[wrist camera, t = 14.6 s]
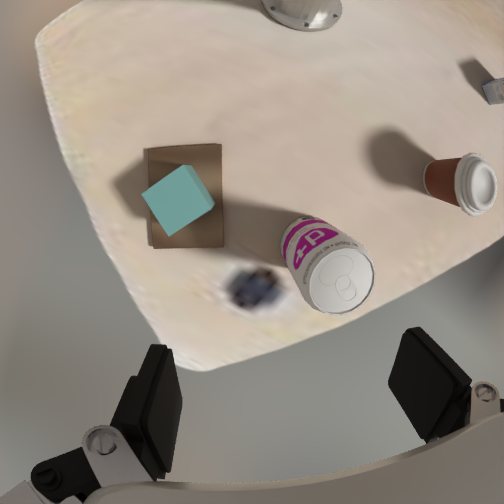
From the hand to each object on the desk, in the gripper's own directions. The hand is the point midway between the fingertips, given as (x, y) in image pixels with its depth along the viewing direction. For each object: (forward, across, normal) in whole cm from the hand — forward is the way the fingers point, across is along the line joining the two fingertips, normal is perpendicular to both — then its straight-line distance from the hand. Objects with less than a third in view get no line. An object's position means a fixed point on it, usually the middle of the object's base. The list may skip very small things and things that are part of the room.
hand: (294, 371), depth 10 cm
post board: (+30, +9, -4) cm, 32 cm away
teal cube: (+29, +9, -4) cm, 31 cm away
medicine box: (+31, -51, -30) cm, 67 cm away
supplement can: (+31, -8, +3) cm, 32 cm away
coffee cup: (+31, -31, -8) cm, 44 cm away
